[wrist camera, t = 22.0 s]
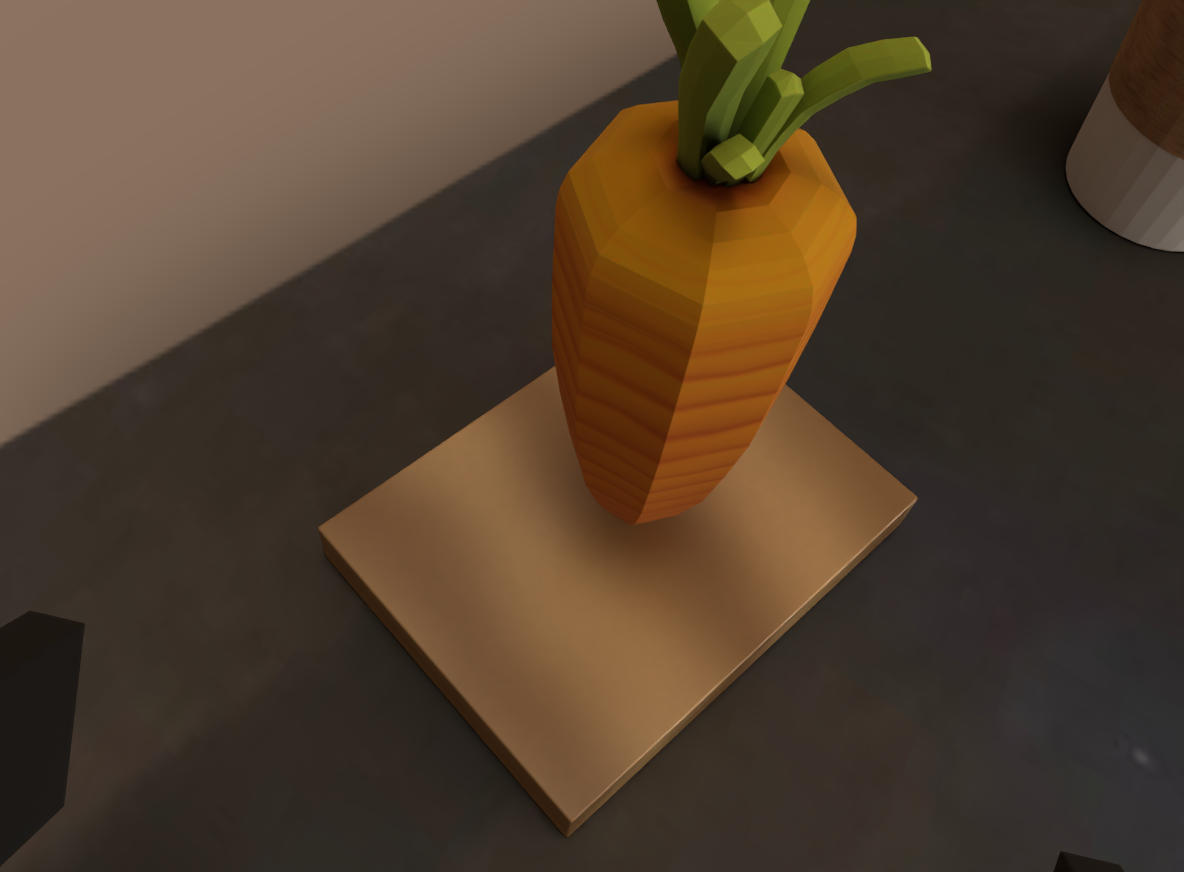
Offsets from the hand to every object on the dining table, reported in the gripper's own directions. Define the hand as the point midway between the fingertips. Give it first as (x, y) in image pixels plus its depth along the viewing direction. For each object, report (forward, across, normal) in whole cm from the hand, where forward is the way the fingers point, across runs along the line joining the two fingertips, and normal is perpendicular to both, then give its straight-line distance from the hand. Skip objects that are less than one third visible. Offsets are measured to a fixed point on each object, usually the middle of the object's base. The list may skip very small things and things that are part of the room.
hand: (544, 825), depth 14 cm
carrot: (+12, 0, +1) cm, 13 cm away
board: (+14, 0, 0) cm, 14 cm away
